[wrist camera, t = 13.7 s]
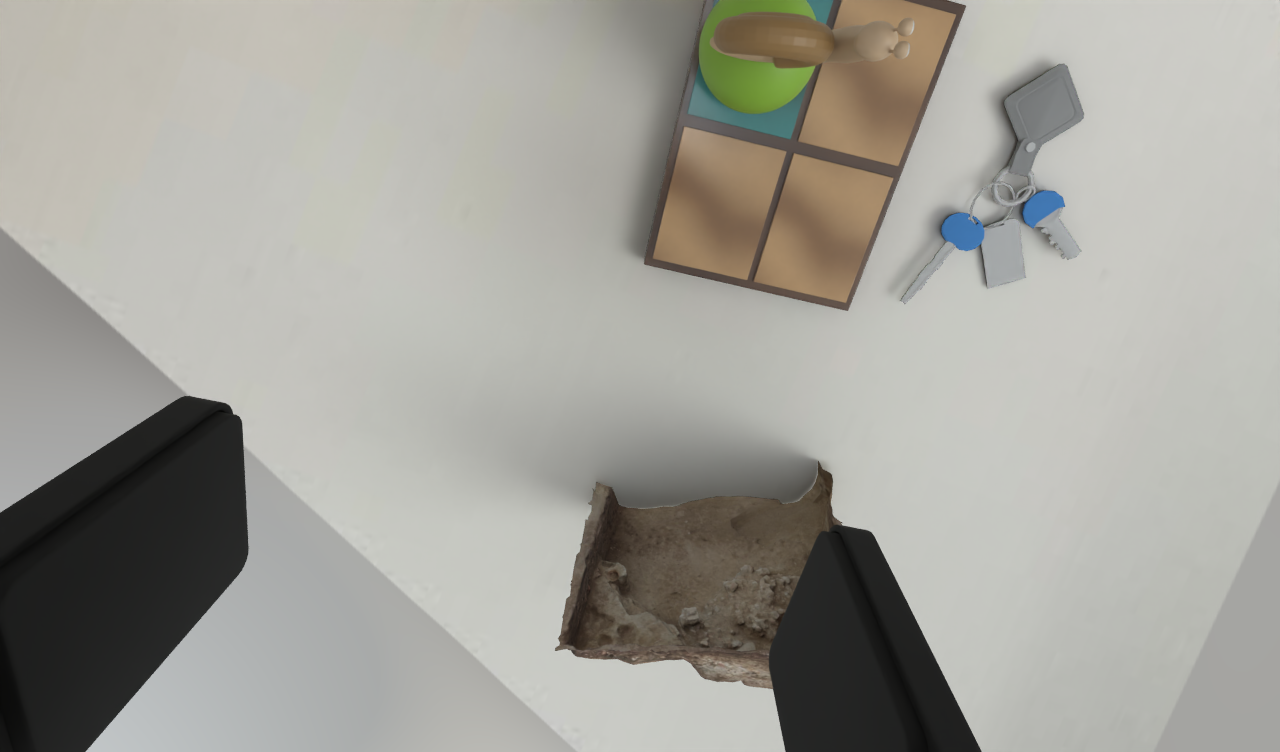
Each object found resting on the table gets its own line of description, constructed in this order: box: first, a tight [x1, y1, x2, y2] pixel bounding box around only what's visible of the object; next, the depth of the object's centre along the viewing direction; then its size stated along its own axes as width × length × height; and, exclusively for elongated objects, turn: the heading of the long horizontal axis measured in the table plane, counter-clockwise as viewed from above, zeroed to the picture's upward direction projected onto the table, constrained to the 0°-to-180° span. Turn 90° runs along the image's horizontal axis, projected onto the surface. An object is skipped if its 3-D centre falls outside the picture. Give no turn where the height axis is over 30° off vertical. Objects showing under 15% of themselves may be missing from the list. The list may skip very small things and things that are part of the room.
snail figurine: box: [699, 0, 915, 114], centre depth 26 cm, size 5×6×12 cm
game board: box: [644, 0, 966, 311], centre depth 33 cm, size 16×12×1 cm
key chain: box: [900, 64, 1084, 304], centre depth 35 cm, size 14×8×1 cm, turn 161°
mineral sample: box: [555, 461, 842, 689], centre depth 37 cm, size 17×4×15 cm, turn 95°
